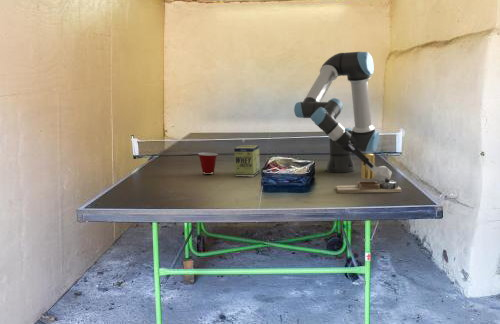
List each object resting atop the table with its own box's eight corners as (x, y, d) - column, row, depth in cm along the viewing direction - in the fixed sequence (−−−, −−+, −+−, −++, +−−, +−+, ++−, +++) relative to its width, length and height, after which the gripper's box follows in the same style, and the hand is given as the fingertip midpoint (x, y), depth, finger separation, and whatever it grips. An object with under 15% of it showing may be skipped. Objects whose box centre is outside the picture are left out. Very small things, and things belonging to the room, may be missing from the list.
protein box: (234, 177, 289) (233, 148, 286) (242, 171, 304) (241, 144, 301) (253, 177, 286) (252, 148, 284) (260, 172, 301) (259, 144, 299)
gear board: (336, 188, 252) (336, 181, 251) (397, 187, 250) (397, 180, 249) (338, 192, 242) (338, 186, 242) (401, 191, 240) (401, 184, 240)
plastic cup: (221, 174, 297) (220, 153, 295) (202, 176, 293) (201, 154, 291) (215, 171, 307) (214, 151, 305) (196, 173, 303) (195, 152, 301)
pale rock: (383, 181, 269) (371, 166, 267) (397, 174, 263) (385, 159, 262) (379, 189, 262) (367, 175, 261) (394, 182, 257) (382, 167, 255)
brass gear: (360, 177, 248) (360, 153, 246) (373, 176, 248) (373, 153, 246) (362, 179, 242) (362, 155, 241) (375, 179, 242) (375, 154, 240)
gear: (375, 185, 250) (375, 176, 250) (395, 184, 250) (395, 176, 249) (378, 189, 241) (378, 180, 240) (399, 189, 240) (399, 180, 240)
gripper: (332, 139, 253) (367, 172, 254) (335, 144, 234) (373, 180, 235) (343, 127, 251) (378, 161, 253) (348, 131, 233) (386, 168, 234)
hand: (376, 170), depth 244 cm, fingers closed on brass gear, 6 cm apart
